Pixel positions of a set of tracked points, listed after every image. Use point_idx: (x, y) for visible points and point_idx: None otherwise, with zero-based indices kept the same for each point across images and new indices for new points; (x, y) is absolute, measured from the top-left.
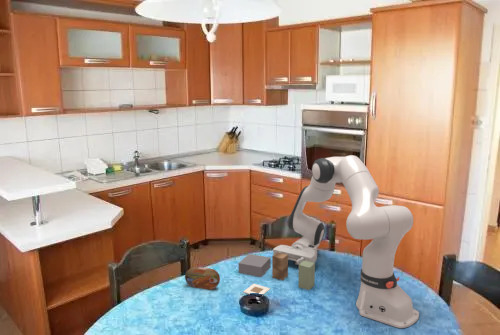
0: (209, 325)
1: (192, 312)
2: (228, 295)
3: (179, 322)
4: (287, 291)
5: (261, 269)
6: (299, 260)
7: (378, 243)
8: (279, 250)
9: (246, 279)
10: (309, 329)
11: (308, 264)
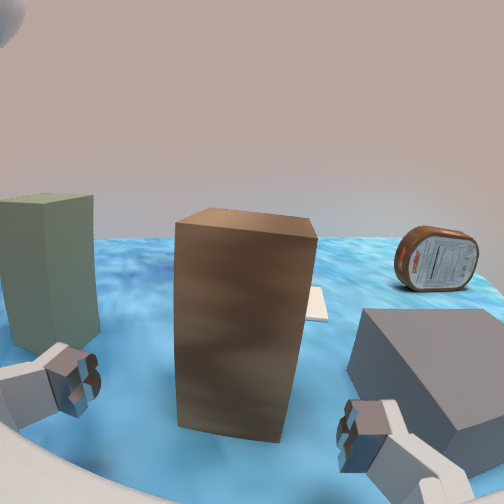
0: None
1: (351, 251)
2: (344, 279)
3: (343, 242)
4: (154, 308)
5: (360, 326)
6: (33, 370)
7: None
8: (487, 495)
9: None
10: (99, 239)
11: (36, 197)
